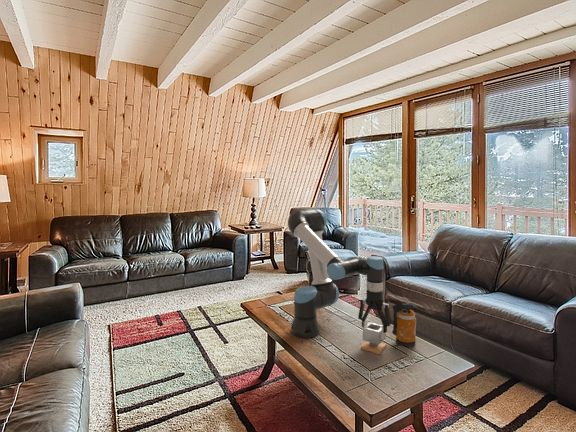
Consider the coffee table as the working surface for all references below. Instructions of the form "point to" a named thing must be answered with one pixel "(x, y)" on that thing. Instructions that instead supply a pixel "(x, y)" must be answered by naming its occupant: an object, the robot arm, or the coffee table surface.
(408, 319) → the canister
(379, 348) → the block
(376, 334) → the grey hollow block
